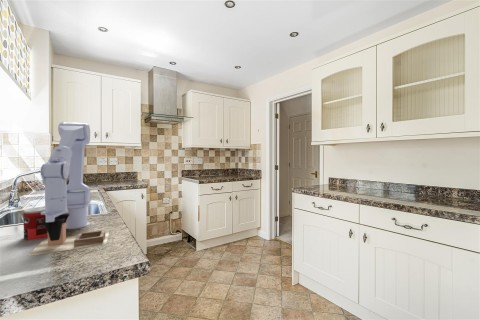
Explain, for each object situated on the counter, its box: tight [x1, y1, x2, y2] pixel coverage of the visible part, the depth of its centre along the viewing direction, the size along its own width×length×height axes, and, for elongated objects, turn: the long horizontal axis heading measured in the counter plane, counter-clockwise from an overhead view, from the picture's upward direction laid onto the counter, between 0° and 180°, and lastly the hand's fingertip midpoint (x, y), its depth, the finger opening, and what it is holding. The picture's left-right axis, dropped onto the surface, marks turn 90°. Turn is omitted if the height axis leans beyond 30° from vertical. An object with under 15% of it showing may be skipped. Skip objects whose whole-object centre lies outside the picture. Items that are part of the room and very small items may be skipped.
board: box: [27, 229, 110, 257], centre depth 77 cm, size 14×20×3 cm
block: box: [47, 223, 67, 246], centre depth 77 cm, size 4×4×6 cm
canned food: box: [22, 206, 48, 241], centre depth 83 cm, size 8×8×11 cm
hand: (57, 237), depth 77 cm, fingers closed on block, 4 cm apart
